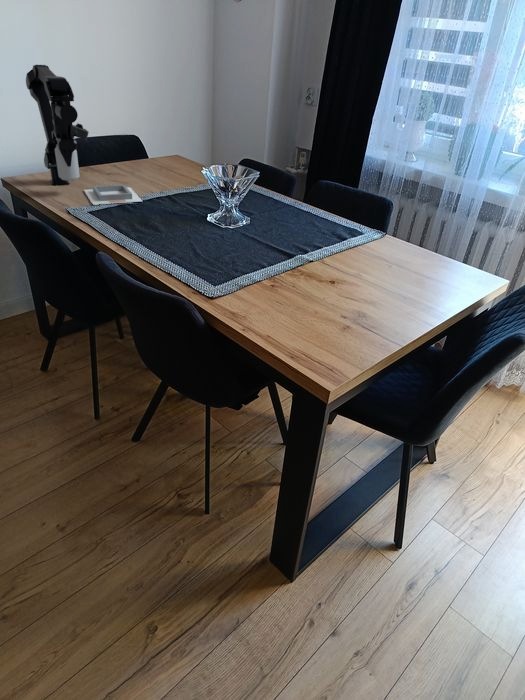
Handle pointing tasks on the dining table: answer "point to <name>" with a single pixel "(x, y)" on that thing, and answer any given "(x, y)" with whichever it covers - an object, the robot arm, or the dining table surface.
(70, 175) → the can
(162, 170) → the dining table surface
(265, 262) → the dining table surface
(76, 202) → the dining table surface
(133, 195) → the collar plate
